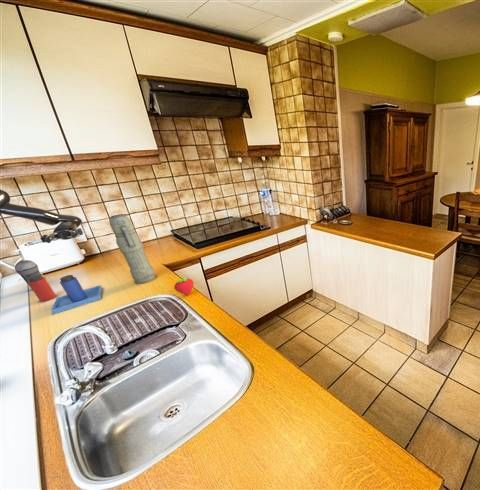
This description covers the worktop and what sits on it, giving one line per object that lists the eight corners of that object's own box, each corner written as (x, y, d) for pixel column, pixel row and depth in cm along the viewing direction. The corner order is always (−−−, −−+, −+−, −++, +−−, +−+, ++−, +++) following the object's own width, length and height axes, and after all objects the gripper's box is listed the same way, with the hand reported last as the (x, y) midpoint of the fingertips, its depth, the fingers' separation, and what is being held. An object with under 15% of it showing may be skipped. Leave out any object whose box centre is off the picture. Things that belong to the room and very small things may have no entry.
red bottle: (39, 303, 123) (24, 281, 118) (41, 298, 127) (27, 277, 122) (55, 298, 126) (41, 276, 121) (57, 294, 130) (43, 273, 125)
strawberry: (176, 296, 122) (169, 277, 118) (194, 288, 127) (188, 270, 123) (180, 300, 119) (172, 281, 115) (198, 293, 124) (192, 274, 120)
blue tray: (53, 314, 115) (51, 310, 114) (58, 301, 124) (56, 297, 123) (100, 299, 123) (98, 295, 123) (102, 288, 133) (100, 285, 132)
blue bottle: (70, 304, 120) (56, 281, 115) (72, 299, 124) (59, 277, 119) (86, 299, 123) (73, 276, 118) (87, 294, 127) (75, 273, 122)
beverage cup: (25, 290, 135) (2, 255, 127) (45, 283, 142) (24, 249, 134) (32, 292, 133) (8, 256, 125) (52, 285, 139) (31, 250, 131)
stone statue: (140, 286, 133) (109, 219, 119) (131, 280, 139) (100, 216, 125) (160, 278, 139) (133, 214, 125) (150, 273, 145) (124, 211, 131)
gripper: (42, 227, 136) (34, 235, 124) (80, 221, 144) (76, 227, 133) (50, 241, 139) (43, 250, 127) (87, 233, 147) (84, 241, 136)
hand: (60, 238), depth 130 cm, fingers open, 8 cm apart
